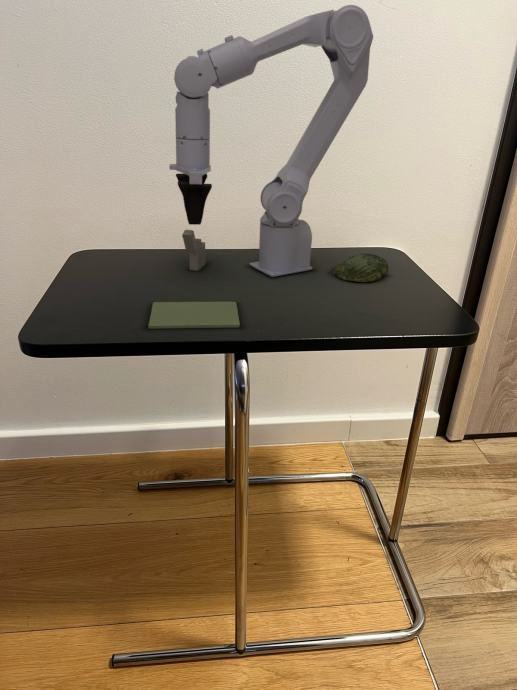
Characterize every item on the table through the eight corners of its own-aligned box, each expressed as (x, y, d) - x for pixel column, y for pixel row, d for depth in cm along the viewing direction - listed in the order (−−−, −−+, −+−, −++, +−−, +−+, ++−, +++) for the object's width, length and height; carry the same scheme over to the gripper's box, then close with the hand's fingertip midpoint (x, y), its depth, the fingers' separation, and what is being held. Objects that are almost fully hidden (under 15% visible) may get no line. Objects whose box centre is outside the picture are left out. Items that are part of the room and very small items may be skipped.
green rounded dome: (337, 243, 105) (390, 248, 103) (335, 263, 107) (387, 268, 105) (333, 262, 96) (390, 267, 95) (331, 283, 98) (387, 289, 97)
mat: (236, 304, 86) (236, 301, 86) (239, 327, 78) (239, 324, 78) (153, 305, 85) (153, 302, 85) (148, 328, 77) (148, 325, 77)
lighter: (197, 263, 105) (196, 222, 101) (205, 264, 104) (205, 222, 101) (183, 274, 98) (181, 231, 95) (192, 275, 98) (191, 232, 95)
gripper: (167, 133, 97) (169, 209, 103) (170, 142, 84) (171, 228, 90) (207, 134, 98) (206, 210, 104) (215, 143, 85) (214, 229, 91)
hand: (193, 218), depth 97 cm, fingers open, 7 cm apart
